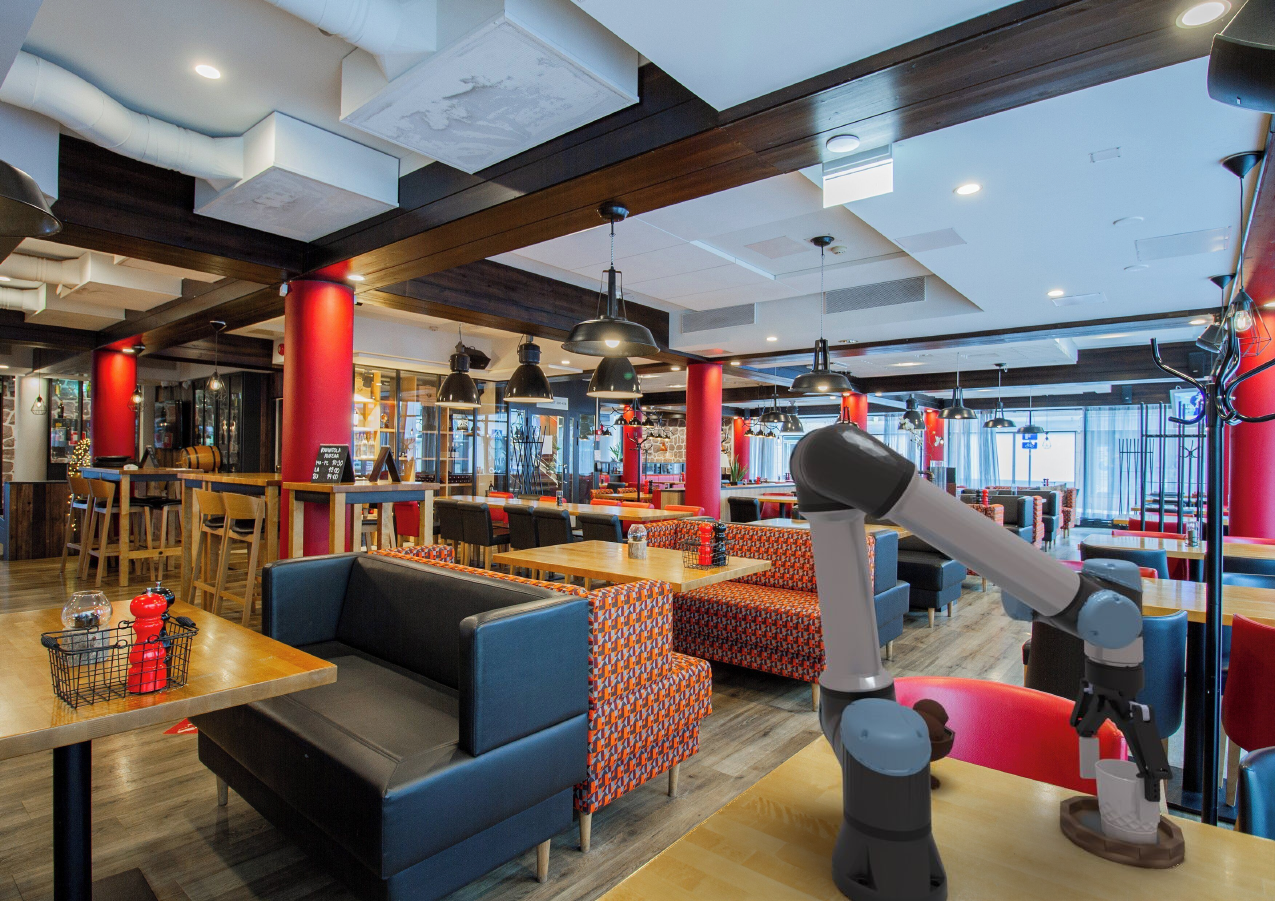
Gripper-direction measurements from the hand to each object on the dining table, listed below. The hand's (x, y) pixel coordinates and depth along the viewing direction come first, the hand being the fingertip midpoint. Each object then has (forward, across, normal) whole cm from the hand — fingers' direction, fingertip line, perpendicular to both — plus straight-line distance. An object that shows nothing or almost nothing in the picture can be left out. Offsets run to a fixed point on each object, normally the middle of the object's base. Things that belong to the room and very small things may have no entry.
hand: (1117, 797), depth 104 cm
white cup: (+5, -2, 0) cm, 5 cm away
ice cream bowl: (+7, +18, +23) cm, 30 cm away
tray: (+6, 0, 0) cm, 6 cm away
